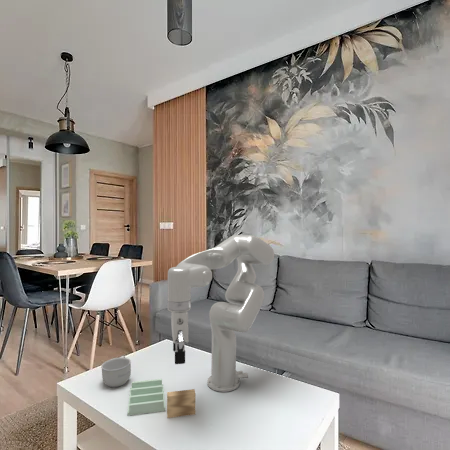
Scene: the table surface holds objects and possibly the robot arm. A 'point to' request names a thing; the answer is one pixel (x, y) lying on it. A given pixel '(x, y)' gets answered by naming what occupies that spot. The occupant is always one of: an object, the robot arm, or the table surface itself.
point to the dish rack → (146, 397)
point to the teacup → (116, 371)
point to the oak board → (181, 403)
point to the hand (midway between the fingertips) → (178, 356)
